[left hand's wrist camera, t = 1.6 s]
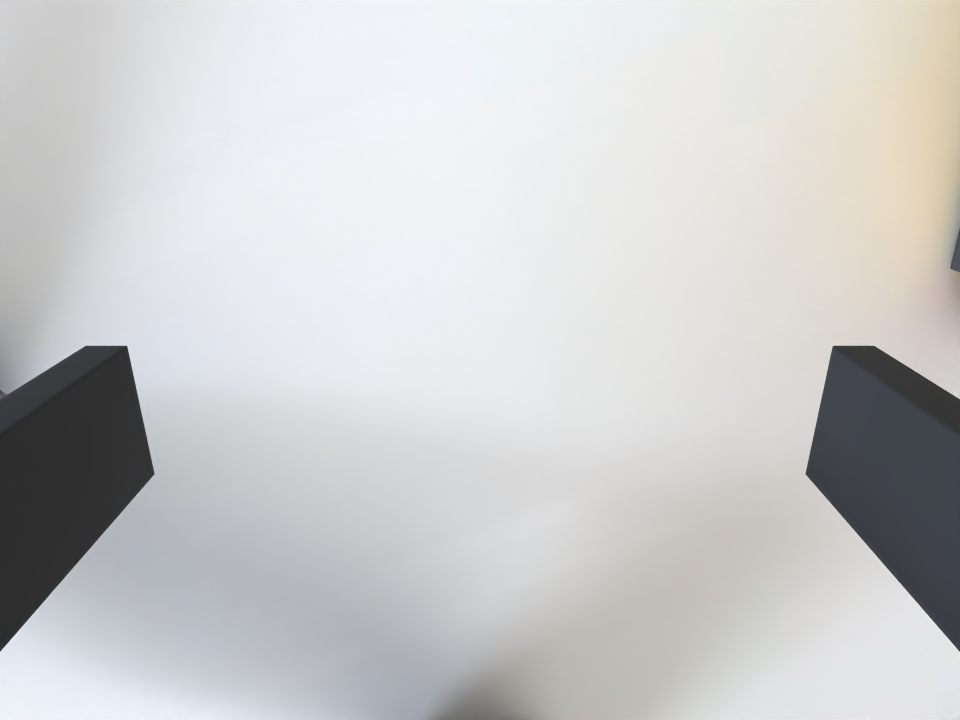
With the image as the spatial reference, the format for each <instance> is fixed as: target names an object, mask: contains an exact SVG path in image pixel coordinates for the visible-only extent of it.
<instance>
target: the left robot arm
mask: <svg viewBox="0 0 960 720" xmlns="http://www.w3.org/2000/svg"><path fill="white" fill-rule="evenodd" d="M153 475H154V470H153V465H152V460H151V456H150V451H149V446H148V442H147V437H146V432H145V428H144V423H143V418H142V414H141V409H140V404H139V400H138V395H137V390H136V385H135V381H134V376H133V371H132V367H131V362H130V357H129V353H128V348H127V346H85V347H83V348H82V349H80V350H79V351H77V352H75V353H74V354H72V355H71V356H69V357H67V358H66V359H64V360H63V361H61V362H59V363H58V364H56V365H55V366H53V367H51V368H50V369H48V370H47V371H45V372H43V373H42V374H40V375H39V376H37V377H35V378H34V379H32V380H31V381H29V382H27V383H26V384H24V385H23V386H21V387H19V388H18V389H16V390H15V391H13V392H11V393H10V394H8V395H7V396H5V397H3V398H2V399H0V651H1V650H2V649H3V648H4V647H5V645H6V644H7V643H8V642H9V641H10V640H11V639H12V637H13V636H14V635H15V634H16V633H17V632H18V630H19V629H20V628H21V627H22V626H23V625H24V624H25V622H26V621H27V620H28V619H29V618H30V617H31V615H32V614H33V613H34V612H35V611H36V610H37V609H38V607H39V606H40V605H41V604H42V603H43V602H44V601H45V599H46V598H47V597H48V596H49V595H50V594H51V592H52V591H53V590H54V589H55V588H56V587H57V586H58V584H59V583H60V582H61V581H62V580H63V579H64V578H65V576H66V575H67V574H68V573H69V572H70V571H71V569H72V568H73V567H74V566H75V565H76V564H77V563H78V561H79V560H80V559H81V558H82V557H83V556H84V554H85V553H86V552H87V551H88V550H89V549H90V548H91V546H92V545H93V544H94V543H95V542H96V541H97V540H98V538H99V537H100V536H101V535H102V534H103V533H104V531H105V530H106V529H107V528H108V527H109V526H110V525H111V523H112V522H113V521H114V520H115V519H116V518H117V517H118V515H119V514H120V513H121V512H122V511H123V510H124V508H125V507H126V506H127V505H128V504H129V503H130V502H131V500H132V499H133V498H134V497H135V496H136V495H137V494H138V492H139V491H140V490H141V489H142V488H143V487H144V485H145V484H146V483H147V482H148V481H149V480H150V479H151V477H152V476H153ZM806 475H807V476H808V477H809V479H810V480H811V481H812V482H813V483H814V484H815V485H816V487H817V488H818V489H819V490H820V491H821V492H822V494H823V495H824V496H825V497H826V498H827V499H828V500H829V502H830V503H831V504H832V505H833V506H834V507H835V508H836V510H837V511H838V512H839V513H840V514H841V515H842V517H843V518H844V519H845V520H846V521H847V522H848V523H849V525H850V526H851V527H852V528H853V529H854V530H855V531H856V533H857V534H858V535H859V536H860V537H861V538H862V540H863V541H864V542H865V543H866V544H867V545H868V546H869V548H870V549H871V550H872V551H873V552H874V553H875V554H876V556H877V557H878V558H879V559H880V560H881V561H882V563H883V564H884V565H885V566H886V567H887V568H888V569H889V571H890V572H891V573H892V574H893V575H894V576H895V578H896V579H897V580H898V581H899V582H900V583H901V584H902V586H903V587H904V588H905V589H906V590H907V591H908V592H909V594H910V595H911V596H912V597H913V598H914V599H915V601H916V602H917V603H918V604H919V605H920V606H921V607H922V609H923V610H924V611H925V612H926V613H927V614H928V615H929V617H930V618H931V619H932V620H933V621H934V622H935V624H936V625H937V626H938V627H939V628H940V629H941V630H942V632H943V633H944V634H945V635H946V636H947V637H948V639H949V640H950V641H951V642H952V643H953V644H954V645H955V647H956V648H957V649H958V650H959V651H960V399H958V398H957V397H955V396H953V395H952V394H950V393H949V392H947V391H945V390H944V389H942V388H941V387H939V386H937V385H936V384H934V383H933V382H931V381H929V380H928V379H926V378H925V377H923V376H921V375H920V374H918V373H917V372H915V371H913V370H912V369H910V368H909V367H907V366H905V365H904V364H902V363H901V362H899V361H897V360H896V359H894V358H893V357H891V356H889V355H888V354H886V353H885V352H883V351H881V350H880V349H878V348H877V347H875V346H833V348H832V353H831V357H830V362H829V367H828V371H827V376H826V381H825V385H824V390H823V395H822V400H821V404H820V409H819V414H818V418H817V423H816V428H815V432H814V437H813V442H812V446H811V451H810V456H809V460H808V465H807V470H806Z"/></svg>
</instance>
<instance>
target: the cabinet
mask: <svg viewBox="0 0 960 720" xmlns="http://www.w3.org/2000/svg"><path fill="white" fill-rule="evenodd" d="M951 269H953V270H955V271H958V272H960V231H959V235H958V239H957V243H956V248H955V252H954V256H953V260H952V265H951Z"/></svg>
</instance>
